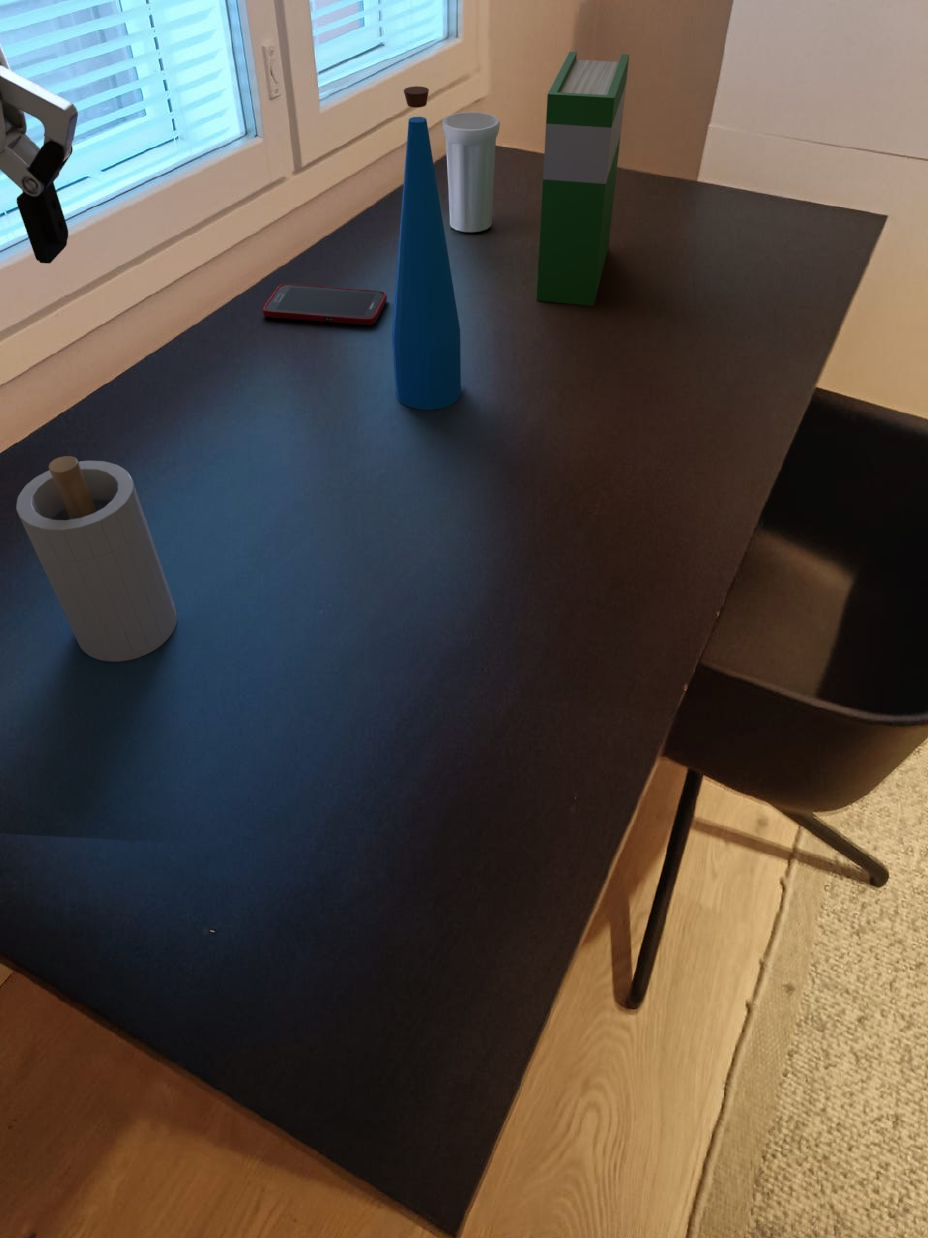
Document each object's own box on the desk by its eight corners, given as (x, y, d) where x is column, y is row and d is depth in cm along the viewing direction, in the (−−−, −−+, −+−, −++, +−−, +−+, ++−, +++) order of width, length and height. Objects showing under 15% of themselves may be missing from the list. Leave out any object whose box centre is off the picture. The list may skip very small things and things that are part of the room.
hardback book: (556, 244, 128) (569, 51, 111) (608, 248, 127) (629, 54, 110) (536, 300, 116) (547, 93, 99) (593, 305, 115) (614, 97, 98)
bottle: (384, 387, 102) (360, 87, 80) (438, 368, 105) (429, 73, 83) (418, 417, 98) (403, 109, 76) (473, 396, 100) (474, 93, 78)
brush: (97, 635, 74) (28, 478, 63) (111, 604, 77) (48, 448, 65) (139, 636, 74) (78, 480, 62) (153, 606, 76) (96, 450, 65)
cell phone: (280, 290, 118) (279, 283, 118) (388, 298, 117) (388, 291, 116) (261, 317, 113) (260, 310, 112) (374, 327, 111) (373, 319, 111)
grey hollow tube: (62, 659, 73) (-4, 527, 63) (97, 590, 79) (42, 458, 69) (160, 664, 73) (110, 531, 63) (188, 594, 78) (147, 462, 68)
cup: (487, 240, 129) (488, 133, 119) (435, 232, 131) (432, 126, 121) (505, 219, 135) (508, 114, 124) (455, 212, 137) (453, 108, 126)
